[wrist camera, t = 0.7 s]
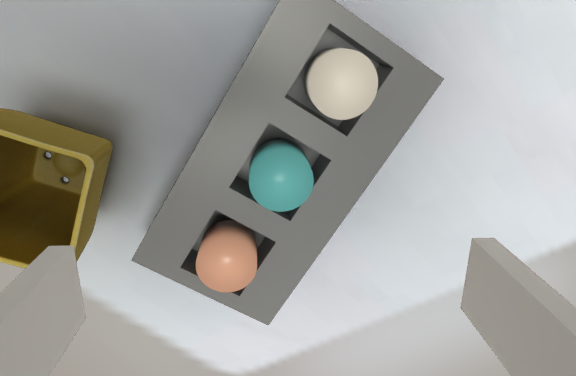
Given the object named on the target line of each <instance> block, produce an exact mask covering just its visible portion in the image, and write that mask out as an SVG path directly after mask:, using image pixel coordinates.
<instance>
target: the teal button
mask: <svg viewBox="0 0 576 376" xmlns="http://www.w3.org/2000/svg"><path fill="white" fill-rule="evenodd" d="M313 183H314V177H313V172H312V169H311V167H310V164H309V162H308V159H307V157H306V155H305V153H304V151H303V150H302V149H301V148H300V147H299V146H298V145H297V144H295V143H293V142H291V141H289V140H285V139H274V140H270V141H267V142H265V143H263V144H262V145H261V146H259V147H258V148H257V149H256V151H255V152H254V153H253V155H252V158H251V160H250V168H249V188H250V191H251V194H252V196H253V197H254V199H255V200H256V201H257V202H258V203H259V204H260V205H261V206H263V207H264V208H267V209H269V210H272V211H278V212H283V211H289V210H293V209H295V208H297V207H299V206H300V205H301V204H303V203H304V202H305V201H306V200H307V198H308V197H309V195H310V194H311V191H312V188H313Z"/></svg>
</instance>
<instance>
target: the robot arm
mask: <svg viewBox="0 0 576 376" xmlns="http://www.w3.org/2000/svg"><path fill="white" fill-rule="evenodd" d="M461 309H462V310H463V312H464V313H465V314H466V316H467V317H468V319H469V320H470V321H471V323H472V324H473V325H474V327H475V328H476V329H477V330H478V332H479V333H480V335H481V336H482V337H483V339H484V340H485V341H486V343H487V344H488V345H489V347H490V348H491V349H492V351H493V352H494V353H495V355H496V356H497V357H498V359H499V360H500V361H501V363H502V364H503V366H504V367H505V368H506V370H507V371H508V372H509V374H510V375H511V376H576V307H575V306H573V305H572V304H571V303H570V302H569V301H567V300H566V299H565V298H564V297H563V296H562V295H561V294H559V293H558V292H557V291H556V290H555V289H553V288H552V287H551V286H550V285H549V284H548V283H546V282H545V281H544V280H543V279H542V278H541V277H539V276H538V275H537V274H536V273H535V272H533V271H532V270H531V269H530V268H529V267H528V266H526V265H525V264H524V263H523V262H522V261H521V260H519V259H518V258H517V257H516V256H515V255H514V254H512V253H511V252H510V251H509V250H508V249H506V248H505V247H504V246H503V245H502V244H501V243H499V242H498V241H497V240H496V239H495V238H472V242H471V248H470V254H469V260H468V266H467V272H466V278H465V284H464V290H463V296H462V302H461ZM85 319H86V316H85V310H84V304H83V298H82V292H81V286H80V281H79V275H78V269H77V263H76V257H75V252H74V246H73V245H71V246H48V247H47V248H46V249H45V250H44V251H43V252H42V253H41V254H40V255H39V256H38V257H37V258H36V259H35V260H34V261H33V262H32V263H31V264H30V265H29V266H28V267H26V268H25V269H24V270H23V271H22V272H21V273H20V274H19V275H18V276H17V277H16V278H15V279H14V280H13V281H12V282H11V283H10V284H9V285H8V286H7V287H6V288H5V289H4V290H3V291H2V292H1V293H0V376H50V374H51V373H52V371H53V370H54V368H55V366H56V365H57V363H58V362H59V360H60V359H61V357H62V355H63V354H64V352H65V351H66V349H67V347H68V346H69V344H70V343H71V341H72V340H73V338H74V336H75V335H76V333H77V332H78V330H79V328H80V327H81V325H82V324H83V322H84V321H85Z"/></svg>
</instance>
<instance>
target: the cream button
mask: <svg viewBox="0 0 576 376" xmlns="http://www.w3.org/2000/svg"><path fill="white" fill-rule="evenodd" d="M304 86H305V91H306V93H307V96H308V97H309V99H310V100H311V101H312V103H313V104H314V105H315V106H316V107H317V109H318V110H319V111H320V112H321V113H323V114H324V115H326V116H328V117H330V118H333V119H337V120H347V119H351V118H354V117H357V116H359V115H360V114H362V113H363V112H364V111H366V110H367V109H368V108H369V106H370V105H371V104H372V102H373V100H374V98H375V96H376V93H377V89H378V76H377V72H376V69H375V67H374V65H373V63H372V62H371V61H370V59H369V58H368V57H366V56H365V55H364V54H362V53H361V52H358V51H356V50H352V49H346V48H338V47H334V48H328V49H325V50H323V51H321V52H319V53H318V54H317V55H316V56H314V57H313V59H312V60H311V61H310V62H309V64H308V66H307V68H306V71H305V75H304Z"/></svg>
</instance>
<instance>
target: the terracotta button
mask: <svg viewBox="0 0 576 376" xmlns="http://www.w3.org/2000/svg"><path fill="white" fill-rule="evenodd" d="M256 271H257V241H256V237H255V235H254V233H253V232H252V230H251V229H250V228H249V227H247V226H245V225H243V224H241V223H239V222H237V221H233V220H225V221H220V222H217V223H215V224H213V225H212V226H210V227H209V228H208V229H207V230H206V232H205V233H204V235H203V237H202V240H201V244H200V248H199V252H198V255H197V259H196V272H197V275H198V277H199V278H200V280H201V281H202V282H203V283H204V284H205V285H206V286H207V287H209V288H211V289H213V290H215V291H218V292H235V291H238V290H241V289H243V288H244V287H246V286H247V285H248V284H249V283H250V282H251V281H252V280H253V278H254V277H255V274H256Z"/></svg>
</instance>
